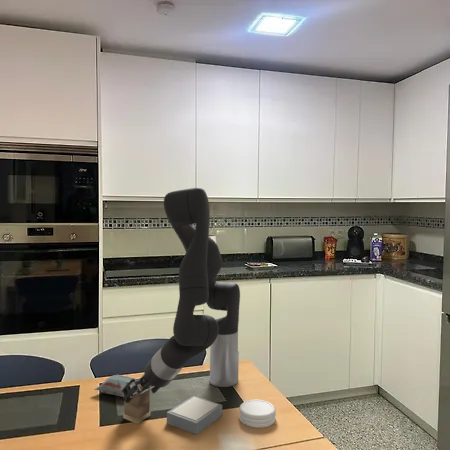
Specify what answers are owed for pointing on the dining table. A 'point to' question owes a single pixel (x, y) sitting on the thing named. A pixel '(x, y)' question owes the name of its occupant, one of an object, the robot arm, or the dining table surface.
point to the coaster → (257, 413)
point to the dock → (194, 414)
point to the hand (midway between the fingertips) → (139, 394)
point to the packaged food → (114, 385)
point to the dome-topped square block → (138, 407)
